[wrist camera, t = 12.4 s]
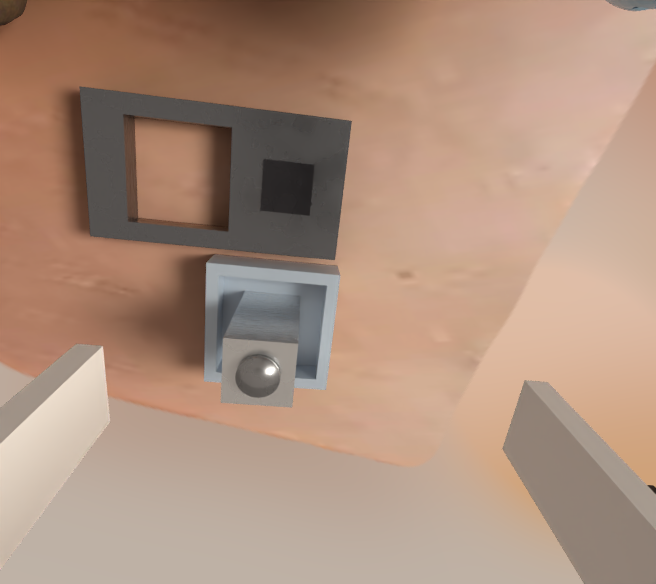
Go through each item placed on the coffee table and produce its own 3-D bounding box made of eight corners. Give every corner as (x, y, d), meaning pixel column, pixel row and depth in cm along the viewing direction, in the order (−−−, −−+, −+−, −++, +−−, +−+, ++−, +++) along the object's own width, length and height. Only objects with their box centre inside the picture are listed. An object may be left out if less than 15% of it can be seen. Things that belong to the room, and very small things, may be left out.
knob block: (245, 290, 36) (221, 341, 26) (300, 295, 36) (297, 347, 26) (242, 341, 38) (219, 407, 28) (295, 345, 38) (291, 412, 28)
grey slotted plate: (93, 90, 31) (78, 86, 29) (349, 123, 33) (351, 120, 31) (102, 231, 34) (89, 236, 32) (333, 254, 36) (335, 260, 34)
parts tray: (214, 254, 35) (206, 262, 32) (337, 265, 36) (340, 275, 33) (211, 364, 39) (204, 381, 36) (324, 372, 40) (325, 389, 37)
